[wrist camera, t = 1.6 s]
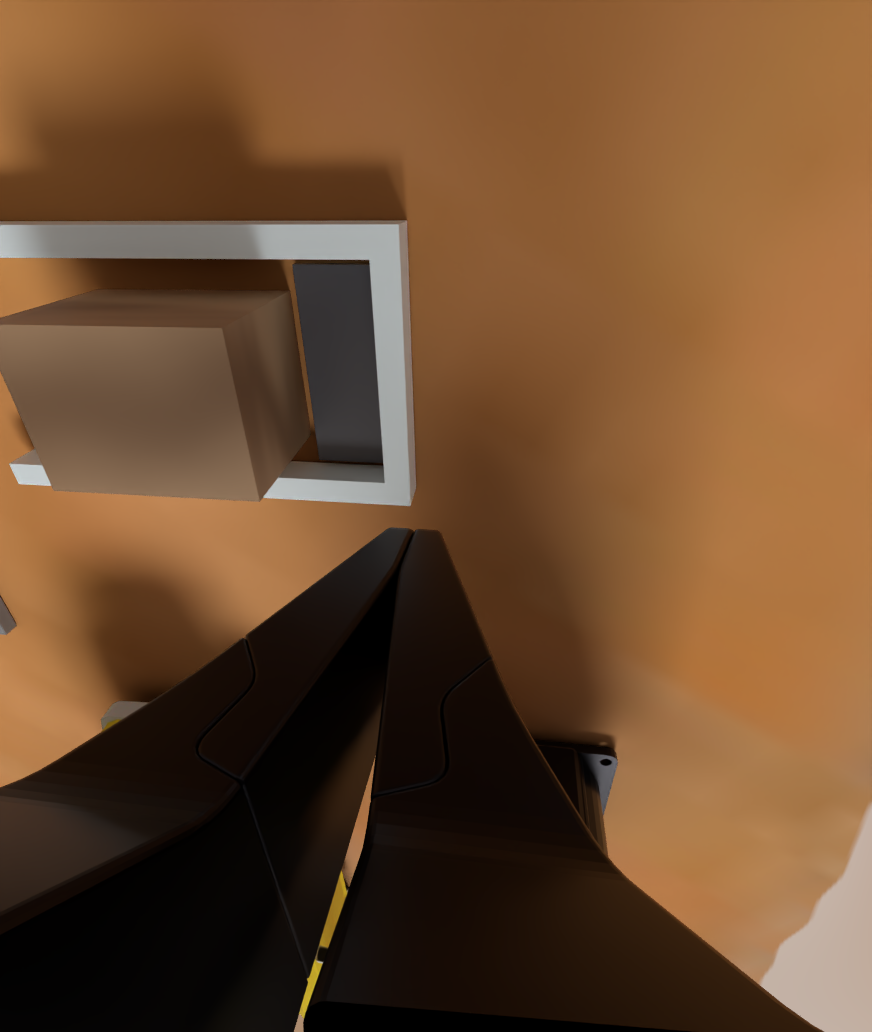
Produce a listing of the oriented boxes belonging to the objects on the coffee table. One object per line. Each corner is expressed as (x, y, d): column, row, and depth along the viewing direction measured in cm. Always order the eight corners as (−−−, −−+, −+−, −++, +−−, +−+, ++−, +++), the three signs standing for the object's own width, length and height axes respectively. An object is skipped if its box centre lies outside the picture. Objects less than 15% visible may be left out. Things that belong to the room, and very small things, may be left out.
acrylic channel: (416, 487, 19) (410, 506, 18) (43, 468, 20) (18, 484, 19) (406, 220, 14) (398, 224, 14) (-66, 221, 16) (-105, 224, 15)
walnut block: (312, 432, 18) (259, 501, 15) (145, 426, 19) (53, 490, 15) (291, 289, 16) (221, 327, 12) (100, 288, 17) (-21, 324, 13)
